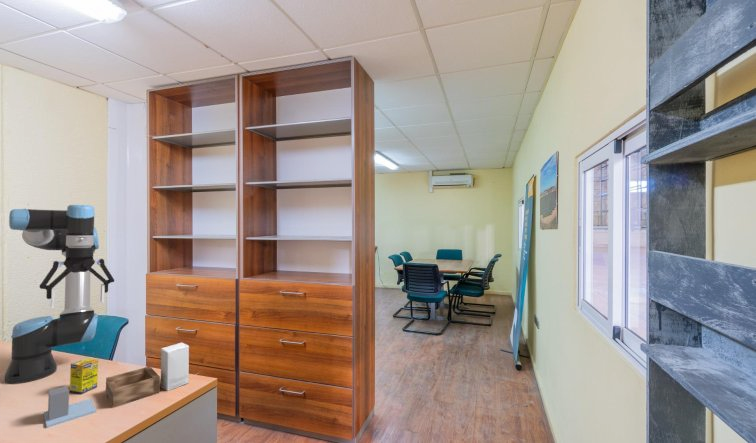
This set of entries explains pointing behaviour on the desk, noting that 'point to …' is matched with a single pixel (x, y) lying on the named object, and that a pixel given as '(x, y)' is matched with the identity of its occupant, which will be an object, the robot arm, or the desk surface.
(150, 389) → the box
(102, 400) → the desk surface
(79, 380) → the supplement box
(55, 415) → the lid
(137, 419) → the desk surface
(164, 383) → the skincare box
